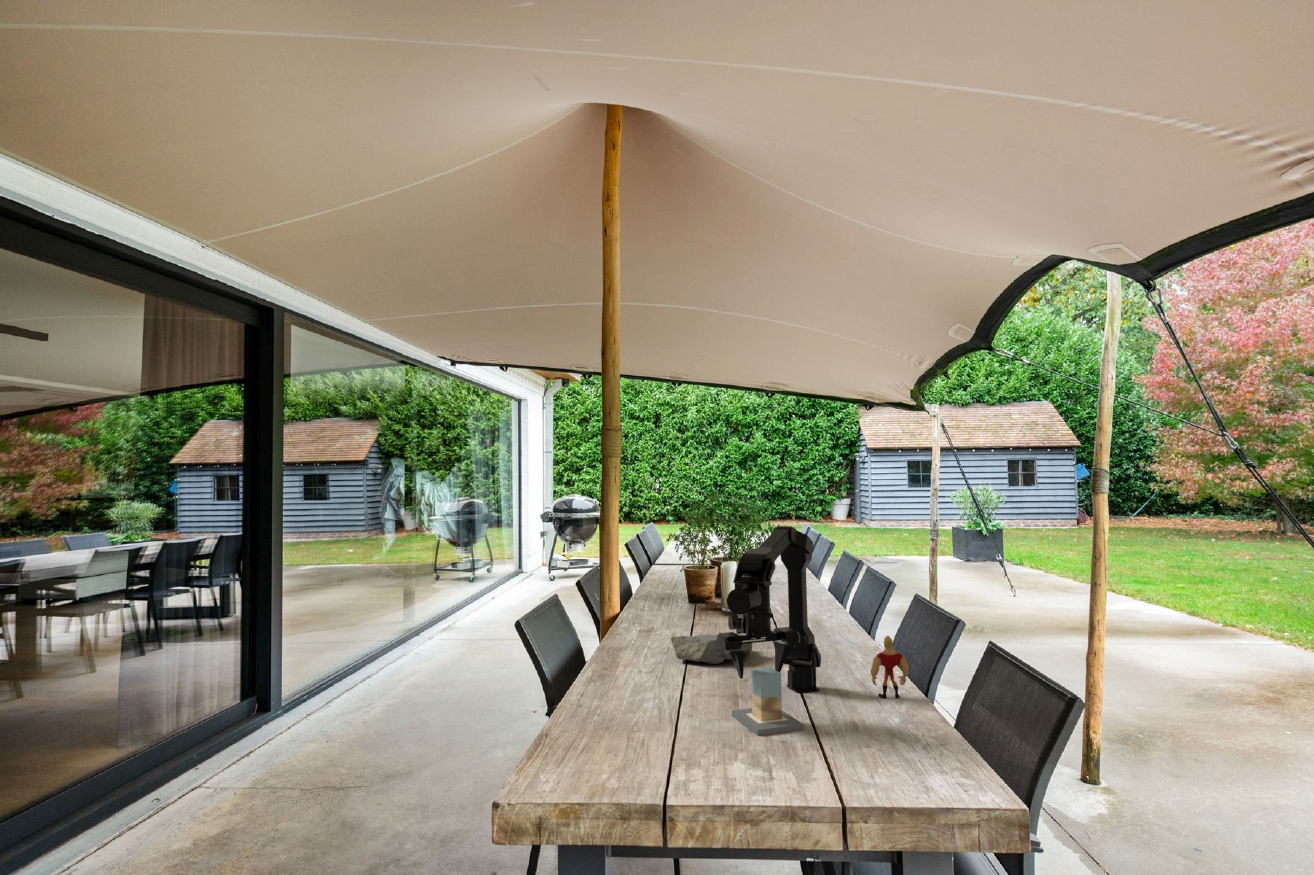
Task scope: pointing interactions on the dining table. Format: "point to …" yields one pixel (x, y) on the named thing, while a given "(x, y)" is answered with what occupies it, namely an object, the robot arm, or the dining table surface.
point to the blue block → (766, 682)
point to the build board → (767, 723)
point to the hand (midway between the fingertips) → (759, 676)
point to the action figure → (889, 666)
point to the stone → (703, 648)
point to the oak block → (767, 708)
